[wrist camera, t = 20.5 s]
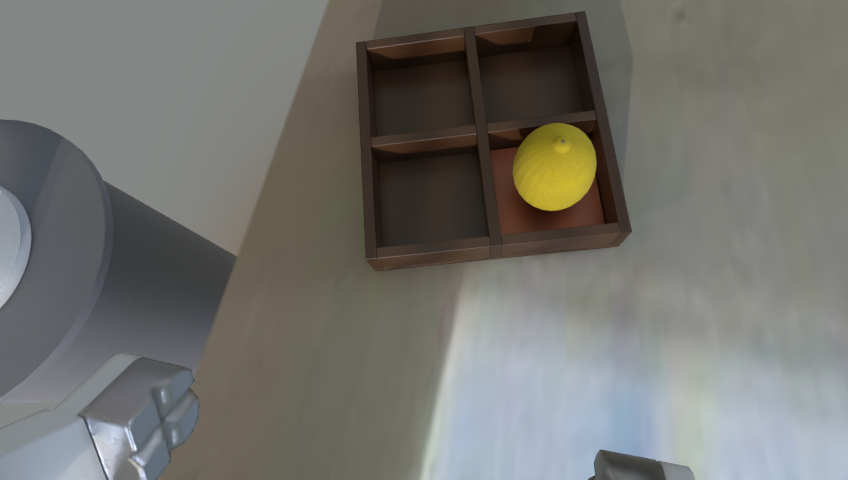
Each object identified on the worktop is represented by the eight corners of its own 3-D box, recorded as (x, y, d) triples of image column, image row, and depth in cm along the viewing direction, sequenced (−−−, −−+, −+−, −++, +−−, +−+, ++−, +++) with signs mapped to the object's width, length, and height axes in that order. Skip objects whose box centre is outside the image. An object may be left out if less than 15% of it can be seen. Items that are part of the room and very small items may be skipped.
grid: (375, 271, 39) (365, 259, 36) (365, 68, 44) (355, 42, 41) (618, 246, 38) (632, 232, 34) (577, 40, 43) (585, 10, 40)
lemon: (555, 239, 38) (574, 199, 30) (495, 197, 39) (499, 149, 31) (597, 183, 38) (627, 132, 31) (537, 145, 40) (551, 86, 32)
